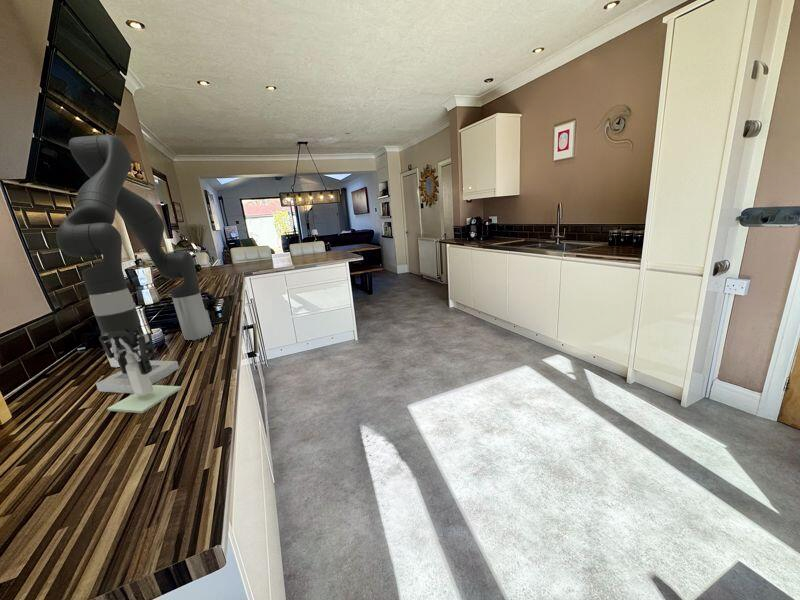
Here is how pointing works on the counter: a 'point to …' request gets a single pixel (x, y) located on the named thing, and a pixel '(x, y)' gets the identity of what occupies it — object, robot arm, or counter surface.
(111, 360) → the jar
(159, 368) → the collar block
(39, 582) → the counter surface
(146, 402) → the sage mat
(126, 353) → the robot arm
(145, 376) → the eye dropper bottle
